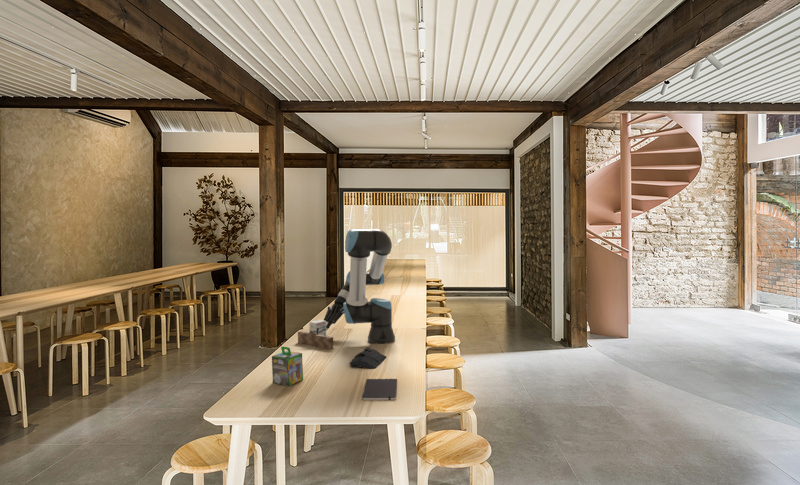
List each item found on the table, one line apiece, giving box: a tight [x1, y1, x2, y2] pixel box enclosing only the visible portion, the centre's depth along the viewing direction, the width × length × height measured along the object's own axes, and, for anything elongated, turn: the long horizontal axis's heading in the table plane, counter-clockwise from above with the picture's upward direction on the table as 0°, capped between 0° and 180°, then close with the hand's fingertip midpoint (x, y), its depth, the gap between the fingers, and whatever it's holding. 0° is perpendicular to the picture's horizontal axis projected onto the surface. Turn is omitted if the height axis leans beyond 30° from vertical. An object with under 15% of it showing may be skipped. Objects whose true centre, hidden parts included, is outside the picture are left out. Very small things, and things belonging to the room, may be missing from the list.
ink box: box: [309, 318, 327, 336], centre depth 267 cm, size 8×5×12 cm, turn 145°
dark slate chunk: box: [349, 347, 387, 370], centre depth 229 cm, size 15×22×5 cm
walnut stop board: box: [297, 330, 334, 350], centre depth 260 cm, size 25×2×6 cm, turn 53°
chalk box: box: [271, 346, 304, 387], centre depth 201 cm, size 9×9×15 cm
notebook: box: [361, 378, 398, 401], centre depth 190 cm, size 13×2×21 cm
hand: (322, 332), depth 272 cm, fingers closed
